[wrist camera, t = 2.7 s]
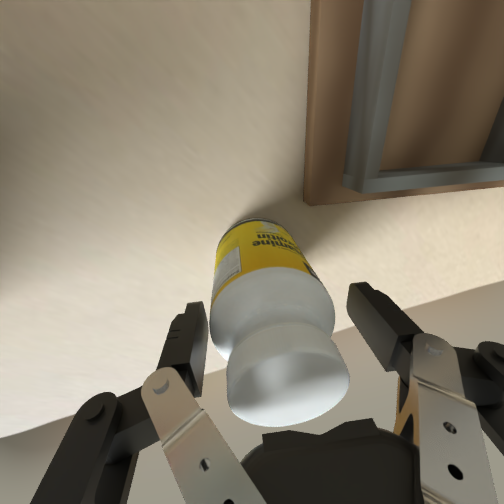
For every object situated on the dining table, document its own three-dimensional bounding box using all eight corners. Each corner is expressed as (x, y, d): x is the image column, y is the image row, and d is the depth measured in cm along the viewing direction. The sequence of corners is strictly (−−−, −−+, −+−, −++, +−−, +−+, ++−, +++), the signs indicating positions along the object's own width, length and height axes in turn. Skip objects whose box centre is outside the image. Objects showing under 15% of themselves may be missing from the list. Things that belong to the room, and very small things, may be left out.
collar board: (303, 200, 17) (323, 217, 13) (315, -95, 10) (361, -219, 7) (484, 183, 18) (548, 194, 14) (600, -99, 11) (773, -210, 8)
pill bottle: (305, 259, 19) (396, 396, 9) (245, 295, 20) (264, 454, 10) (266, 198, 16) (335, 297, 6) (199, 244, 18) (162, 393, 7)
